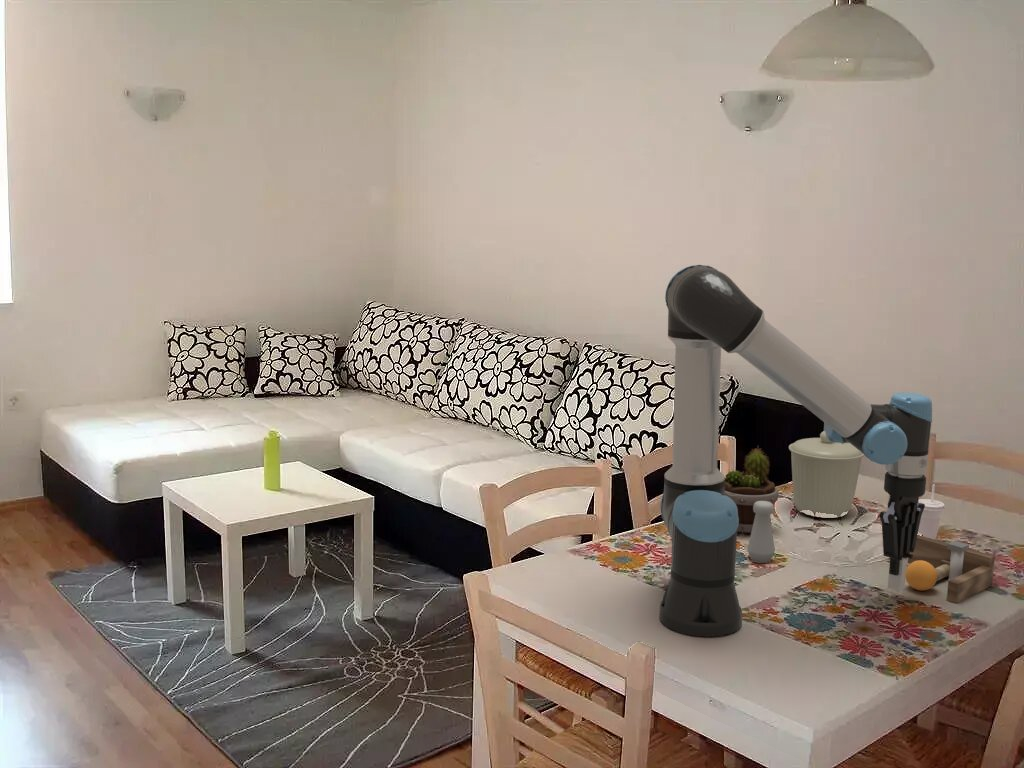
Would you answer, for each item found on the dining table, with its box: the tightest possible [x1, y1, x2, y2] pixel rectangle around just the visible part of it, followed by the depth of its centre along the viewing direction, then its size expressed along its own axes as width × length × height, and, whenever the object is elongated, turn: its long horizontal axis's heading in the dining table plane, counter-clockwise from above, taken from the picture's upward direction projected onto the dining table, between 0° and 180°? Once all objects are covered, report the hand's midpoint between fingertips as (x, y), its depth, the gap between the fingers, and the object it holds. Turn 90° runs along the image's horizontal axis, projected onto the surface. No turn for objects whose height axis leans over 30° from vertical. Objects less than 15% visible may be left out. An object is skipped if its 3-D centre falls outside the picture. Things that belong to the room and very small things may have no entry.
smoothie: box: [918, 483, 945, 540], centre depth 239 cm, size 6×6×14 cm
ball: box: [905, 560, 937, 592], centre depth 211 cm, size 6×6×6 cm
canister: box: [788, 430, 865, 516], centre depth 260 cm, size 18×18×21 cm
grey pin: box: [947, 540, 970, 581], centre depth 214 cm, size 3×3×9 cm
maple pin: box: [935, 560, 950, 582], centre depth 217 cm, size 3×3×9 cm
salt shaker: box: [747, 501, 776, 564], centre depth 227 cm, size 6×6×13 cm
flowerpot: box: [724, 445, 780, 537], centre depth 246 cm, size 14×15×20 cm
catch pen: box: [907, 535, 996, 604], centre depth 216 cm, size 16×18×6 cm
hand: (895, 588), depth 207 cm, fingers closed
